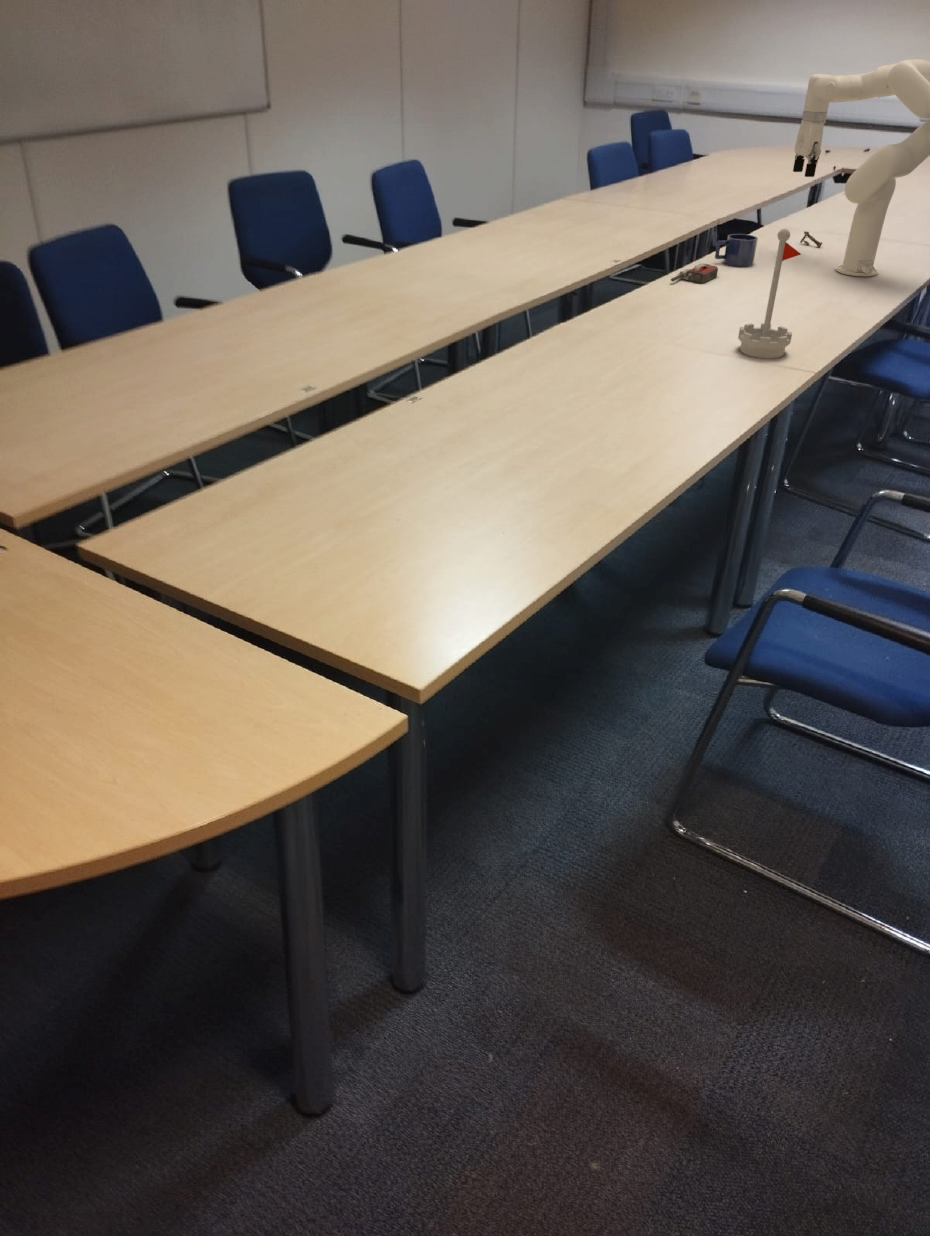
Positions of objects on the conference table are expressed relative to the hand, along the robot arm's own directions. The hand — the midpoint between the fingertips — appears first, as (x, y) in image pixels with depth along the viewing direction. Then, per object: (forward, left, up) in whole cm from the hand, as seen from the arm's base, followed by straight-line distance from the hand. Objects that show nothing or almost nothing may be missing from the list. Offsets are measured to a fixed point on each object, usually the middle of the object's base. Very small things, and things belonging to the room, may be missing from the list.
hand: (803, 174), depth 327 cm
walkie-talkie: (-32, +44, -26) cm, 60 cm away
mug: (-11, +24, -26) cm, 37 cm away
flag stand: (-103, +48, -26) cm, 116 cm away
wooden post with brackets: (+14, -14, -26) cm, 33 cm away
